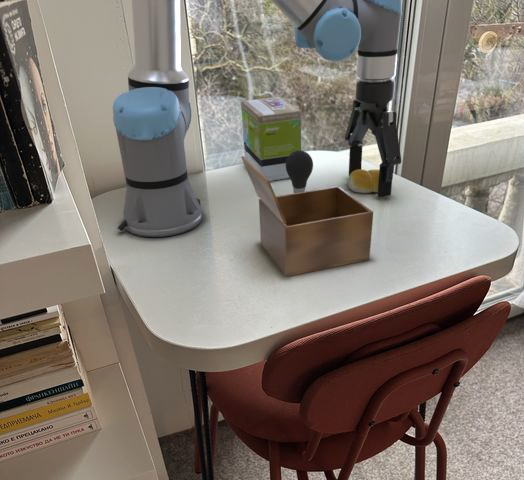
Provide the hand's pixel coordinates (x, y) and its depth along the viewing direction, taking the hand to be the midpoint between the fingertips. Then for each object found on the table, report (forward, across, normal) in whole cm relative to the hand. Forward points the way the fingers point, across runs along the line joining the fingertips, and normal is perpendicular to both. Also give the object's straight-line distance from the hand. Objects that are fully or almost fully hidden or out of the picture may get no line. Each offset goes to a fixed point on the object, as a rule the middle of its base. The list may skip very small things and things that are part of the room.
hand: (368, 185), depth 120 cm
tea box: (0, +20, +15) cm, 25 cm away
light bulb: (0, 0, +16) cm, 16 cm away
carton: (0, -24, +23) cm, 33 cm away
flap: (-13, -24, +32) cm, 42 cm away
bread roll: (+1, 0, 0) cm, 1 cm away
